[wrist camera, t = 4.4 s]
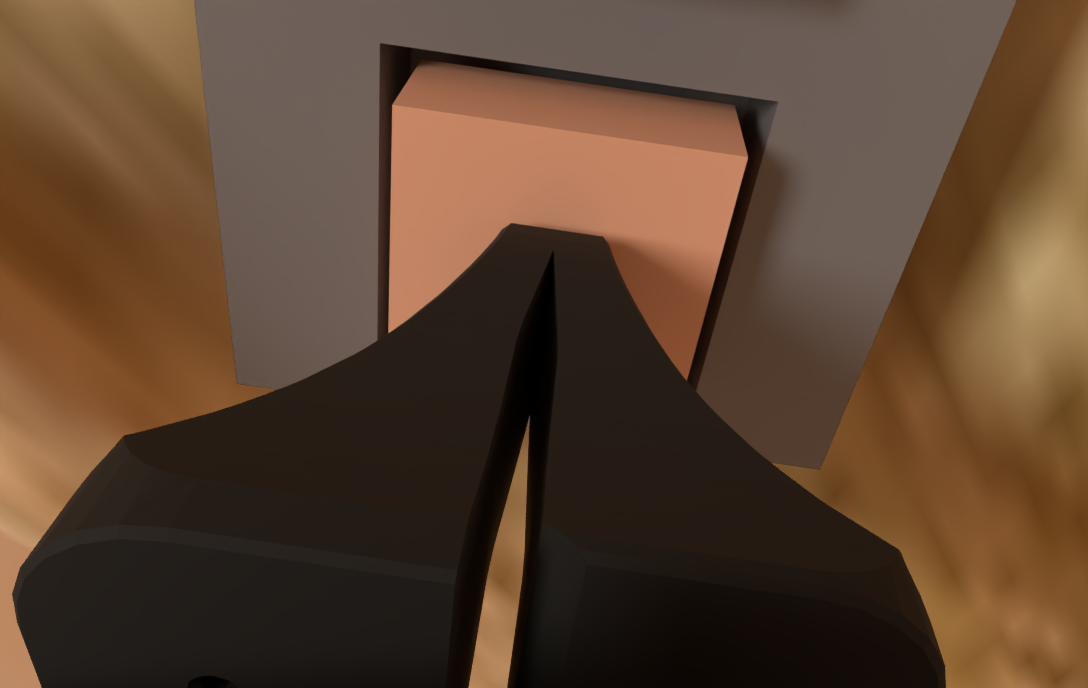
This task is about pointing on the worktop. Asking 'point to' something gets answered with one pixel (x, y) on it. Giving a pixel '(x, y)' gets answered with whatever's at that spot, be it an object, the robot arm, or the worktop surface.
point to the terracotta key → (562, 184)
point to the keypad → (621, 62)
